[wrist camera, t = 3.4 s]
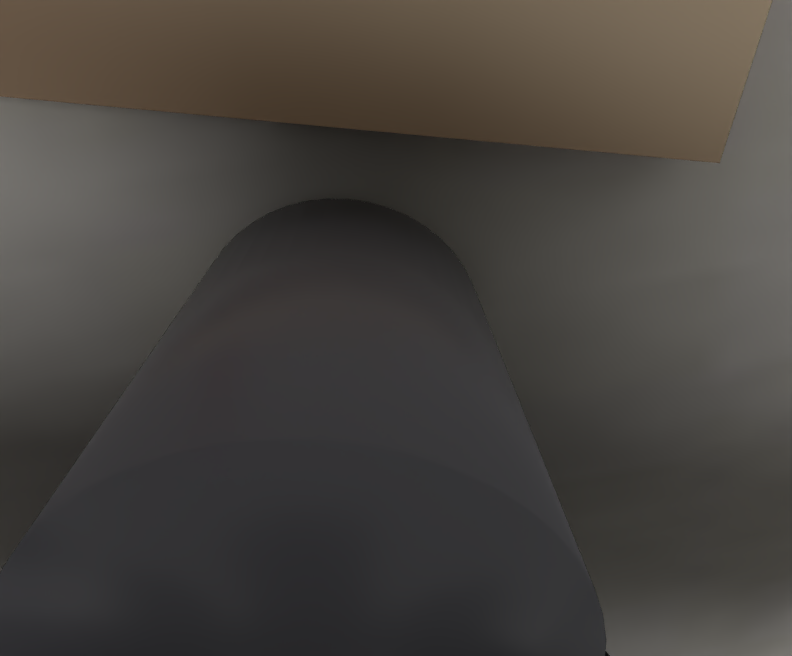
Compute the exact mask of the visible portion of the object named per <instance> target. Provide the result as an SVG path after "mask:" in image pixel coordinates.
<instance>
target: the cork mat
mask: <svg viewBox="0 0 792 656" xmlns="http://www.w3.org/2000/svg"><path fill="white" fill-rule="evenodd" d="M771 3H772V0H0V96H2V97H13V98H23V99H34V100H45V101H56V102H66V103H77V104H88V105H99V106H110V107H120V108H131V109H142V110H153V111H163V112H174V113H185V114H196V115H207V116H217V117H228V118H239V119H250V120H260V121H271V122H282V123H293V124H303V125H314V126H325V127H336V128H347V129H357V130H368V131H379V132H390V133H400V134H411V135H422V136H433V137H444V138H454V139H465V140H476V141H487V142H497V143H508V144H519V145H530V146H541V147H551V148H562V149H573V150H584V151H594V152H605V153H616V154H627V155H638V156H648V157H659V158H670V159H681V160H691V161H702V162H713V163H720V160H721V157H722V154H723V151H724V148H725V145H726V142H727V139H728V136H729V132H730V129H731V126H732V123H733V120H734V117H735V114H736V111H737V108H738V105H739V102H740V99H741V96H742V92H743V89H744V86H745V83H746V80H747V77H748V74H749V71H750V68H751V65H752V62H753V59H754V56H755V53H756V49H757V46H758V43H759V40H760V37H761V34H762V31H763V28H764V25H765V22H766V19H767V16H768V13H769V10H770V6H771Z"/></svg>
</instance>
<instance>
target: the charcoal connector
mask: <svg viewBox="0 0 792 656" xmlns="http://www.w3.org/2000/svg"><path fill="white" fill-rule="evenodd" d="M605 650H606V635H605V627H604V618H603V613H602V610H601V607H600V604H599V601H598V598H597V595H596V592H595V589H594V586H593V584H592V581H591V579H590V576H589V574H588V571H587V569H586V566H585V564H584V561H583V559H582V556H581V554H580V551H579V549H578V546H577V544H576V541H575V539H574V536H573V534H572V531H571V529H570V526H569V524H568V521H567V519H566V516H565V514H564V511H563V509H562V506H561V504H560V501H559V499H558V496H557V494H556V491H555V489H554V486H553V484H552V481H551V479H550V476H549V474H548V471H547V469H546V466H545V464H544V461H543V459H542V456H541V454H540V451H539V449H538V446H537V444H536V441H535V439H534V436H533V434H532V431H531V429H530V426H529V424H528V421H527V419H526V416H525V414H524V411H523V409H522V406H521V404H520V401H519V399H518V396H517V394H516V391H515V389H514V386H513V384H512V381H511V379H510V376H509V374H508V371H507V369H506V366H505V364H504V361H503V359H502V356H501V354H500V351H499V349H498V346H497V344H496V341H495V339H494V336H493V334H492V332H491V329H490V327H489V324H488V322H487V319H486V317H485V314H484V312H483V309H482V307H481V304H480V302H479V299H478V297H477V294H476V292H475V289H474V287H473V284H472V282H471V280H470V278H469V276H468V274H467V272H466V270H465V268H464V266H463V265H462V264H461V262H460V261H459V260H458V258H457V257H456V255H455V254H454V253H453V251H452V250H451V249H450V248H449V247H448V246H447V245H446V244H445V243H444V242H443V241H442V240H441V239H440V238H439V237H438V236H437V235H435V234H434V233H433V232H432V231H430V230H429V229H428V228H427V227H425V226H424V225H422V224H421V223H419V222H417V221H416V220H414V219H412V218H411V217H409V216H407V215H405V214H402V213H400V212H398V211H395V210H393V209H391V208H388V207H385V206H381V205H378V204H374V203H371V202H365V201H358V200H352V199H321V200H312V201H306V202H302V203H298V204H293V205H289V206H286V207H284V208H281V209H279V210H276V211H274V212H271V213H269V214H267V215H265V216H263V217H262V218H260V219H258V220H256V221H255V222H253V223H251V224H250V225H249V226H247V227H246V228H245V229H244V230H242V231H241V232H240V233H238V234H237V235H236V236H235V237H234V238H233V239H232V240H231V241H230V242H229V243H228V244H227V245H226V246H225V247H224V248H223V250H222V251H221V253H220V254H219V255H218V257H217V258H216V260H215V261H214V262H213V264H212V265H211V267H210V268H209V270H208V271H207V272H206V274H205V275H204V277H203V278H202V280H201V281H200V283H199V284H198V285H197V287H196V288H195V290H194V291H193V293H192V294H191V296H190V297H189V298H188V300H187V301H186V303H185V304H184V306H183V307H182V309H181V310H180V311H179V313H178V314H177V316H176V317H175V319H174V320H173V322H172V323H171V324H170V326H169V327H168V329H167V330H166V332H165V333H164V335H163V336H162V338H161V339H160V340H159V342H158V343H157V345H156V346H155V348H154V349H153V351H152V352H151V353H150V355H149V356H148V358H147V359H146V361H145V362H144V364H143V365H142V366H141V368H140V369H139V371H138V372H137V374H136V375H135V377H134V378H133V379H132V381H131V382H130V384H129V385H128V387H127V388H126V390H125V391H124V392H123V394H122V395H121V397H120V398H119V400H118V401H117V403H116V404H115V406H114V407H113V408H112V410H111V411H110V413H109V414H108V416H107V417H106V419H105V420H104V421H103V423H102V424H101V426H100V427H99V429H98V430H97V432H96V433H95V434H94V436H93V437H92V439H91V440H90V442H89V443H88V445H87V446H86V447H85V449H84V450H83V452H82V453H81V455H80V456H79V458H78V459H77V460H76V462H75V463H74V465H73V466H72V468H71V469H70V471H69V472H68V474H67V475H66V476H65V478H64V479H63V481H62V482H61V484H60V485H59V487H58V488H57V489H56V491H55V492H54V494H53V495H52V497H51V498H50V500H49V501H48V502H47V504H46V505H45V507H44V508H43V510H42V511H41V513H40V514H39V515H38V517H37V518H36V520H35V521H34V523H33V524H32V526H31V527H30V528H29V530H28V531H27V533H26V534H25V536H24V537H23V539H22V540H21V542H20V543H19V544H18V546H17V547H16V549H15V550H14V552H13V553H12V555H11V556H10V557H9V559H8V560H7V562H6V563H5V565H4V566H3V569H2V571H1V573H0V656H605Z"/></svg>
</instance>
